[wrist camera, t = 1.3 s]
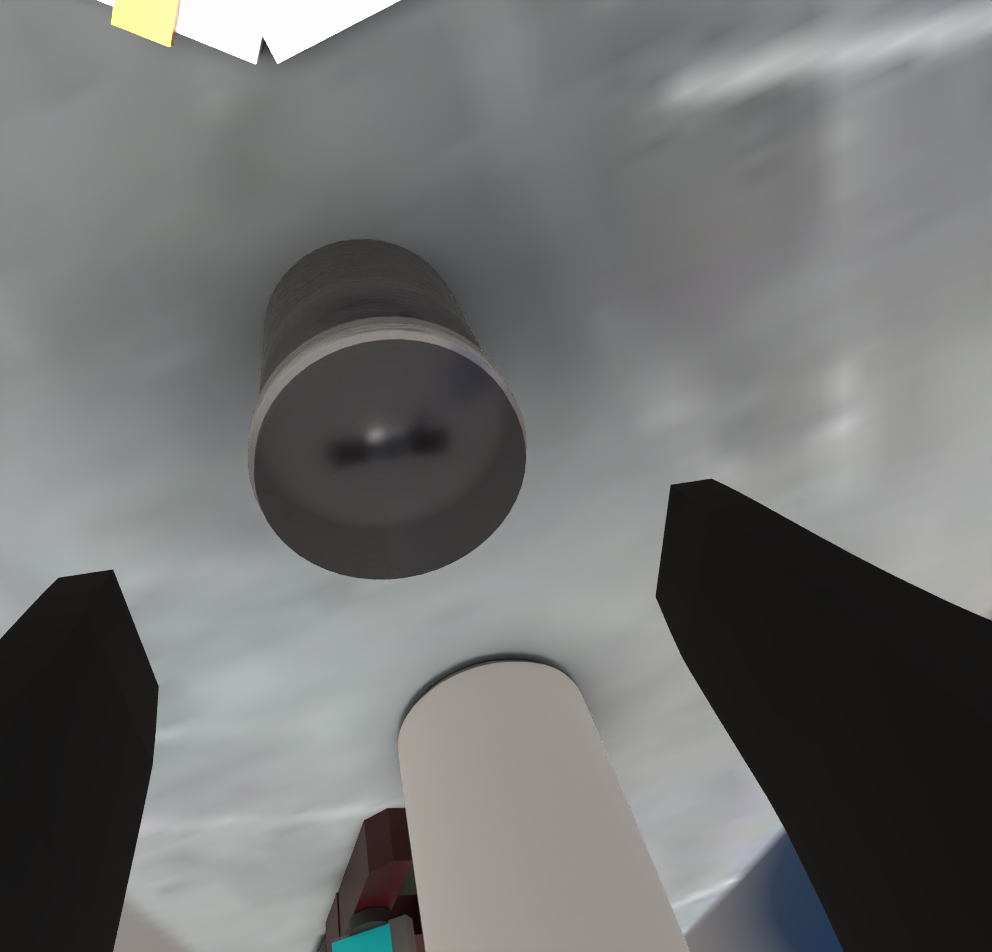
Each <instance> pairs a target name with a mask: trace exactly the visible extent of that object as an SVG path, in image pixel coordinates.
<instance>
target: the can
mask: <svg viewBox="0 0 992 952" xmlns="http://www.w3.org/2000/svg"><path fill="white" fill-rule="evenodd" d="M398 754H399V763H400V771H401V779H402V786H403V794H404V801H405V808H406V816H407V823H408V830H409V838H410V845H411V852H412V859H413V866H414V873H415V880H416V887H417V895H418V902H419V909H420V916H421V923H422V930H423V937H424V944H425V951H426V952H690V950H689V948H688V945H687V943H686V941H685V938H684V936H683V933H682V931H681V929H680V926H679V924H678V921H677V919H676V917H675V914H674V912H673V909H672V907H671V904H670V902H669V900H668V897H667V895H666V892H665V890H664V888H663V885H662V883H661V880H660V878H659V876H658V873H657V871H656V869H655V866H654V864H653V861H652V859H651V857H650V854H649V852H648V849H647V847H646V845H645V842H644V840H643V837H642V835H641V833H640V830H639V828H638V825H637V823H636V821H635V818H634V816H633V814H632V811H631V809H630V806H629V804H628V802H627V799H626V797H625V795H624V792H623V790H622V787H621V785H620V783H619V780H618V778H617V776H616V773H615V771H614V768H613V766H612V764H611V761H610V759H609V757H608V754H607V752H606V750H605V747H604V745H603V742H602V740H601V738H600V735H599V733H598V731H597V728H596V726H595V724H594V721H593V719H592V717H591V714H590V712H589V710H588V707H587V705H586V703H585V701H584V699H583V696H582V694H581V692H580V691H579V689H578V687H577V686H576V684H575V683H574V682H573V681H572V680H571V679H570V678H569V677H568V676H567V675H565V674H564V673H562V672H561V671H559V670H557V669H556V668H553V667H550V666H547V665H545V664H542V663H538V662H534V661H528V660H515V659H507V660H493V661H487V662H482V663H478V664H475V665H471V666H469V667H466V668H463V669H461V670H459V671H456V672H454V673H452V674H450V675H449V676H447V677H445V678H443V679H442V680H440V681H439V682H438V683H436V684H435V685H433V686H432V687H431V688H430V689H429V690H428V691H426V692H425V693H424V694H423V695H422V697H421V698H420V699H419V700H418V701H417V703H416V704H415V705H414V707H413V708H412V709H411V710H410V712H409V713H408V715H407V716H406V718H405V720H404V722H403V724H402V726H401V729H400V733H399V737H398Z"/></svg>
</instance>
